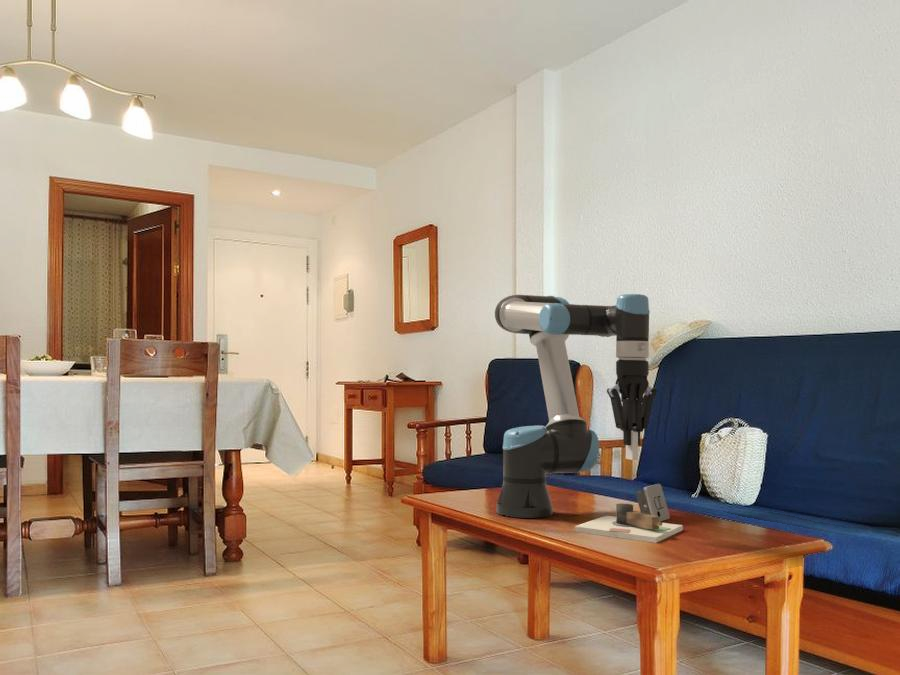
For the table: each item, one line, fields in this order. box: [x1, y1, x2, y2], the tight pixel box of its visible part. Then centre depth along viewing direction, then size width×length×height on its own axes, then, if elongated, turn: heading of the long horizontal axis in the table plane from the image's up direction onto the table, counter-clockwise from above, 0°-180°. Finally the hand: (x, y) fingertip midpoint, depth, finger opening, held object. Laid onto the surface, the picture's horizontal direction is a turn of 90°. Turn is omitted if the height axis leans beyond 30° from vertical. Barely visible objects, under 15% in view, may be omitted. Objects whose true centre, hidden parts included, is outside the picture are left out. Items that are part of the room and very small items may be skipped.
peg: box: [615, 502, 663, 530], centre depth 176 cm, size 14×4×4 cm, turn 31°
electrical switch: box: [635, 483, 671, 522], centre depth 193 cm, size 9×5×9 cm, turn 141°
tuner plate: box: [574, 515, 684, 544], centre depth 178 cm, size 20×18×2 cm
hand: (631, 459), depth 175 cm, fingers closed
